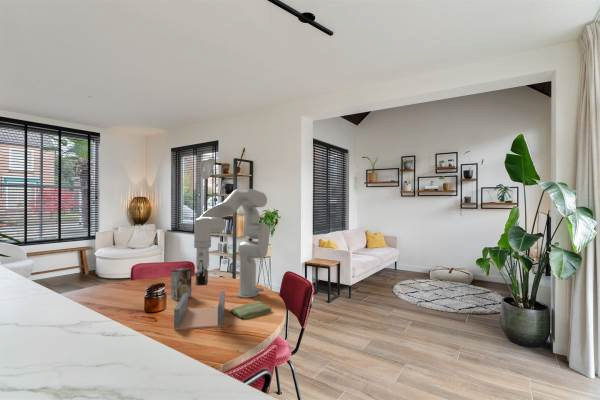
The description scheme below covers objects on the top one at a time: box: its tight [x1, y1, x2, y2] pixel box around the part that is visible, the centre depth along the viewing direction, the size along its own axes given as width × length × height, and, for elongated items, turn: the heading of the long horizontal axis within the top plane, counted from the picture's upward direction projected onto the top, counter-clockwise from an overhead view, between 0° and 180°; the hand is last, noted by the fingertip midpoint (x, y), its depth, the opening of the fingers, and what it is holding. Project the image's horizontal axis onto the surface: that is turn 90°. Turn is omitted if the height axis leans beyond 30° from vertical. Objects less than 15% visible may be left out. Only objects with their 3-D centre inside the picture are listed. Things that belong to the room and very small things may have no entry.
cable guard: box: [173, 291, 226, 331], centre depth 144 cm, size 20×23×9 cm
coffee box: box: [170, 267, 192, 301], centre depth 174 cm, size 9×6×16 cm
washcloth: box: [230, 300, 272, 320], centre depth 153 cm, size 13×18×3 cm
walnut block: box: [195, 269, 209, 287], centre depth 144 cm, size 5×5×6 cm
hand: (201, 282), depth 144 cm, fingers closed on walnut block, 5 cm apart
